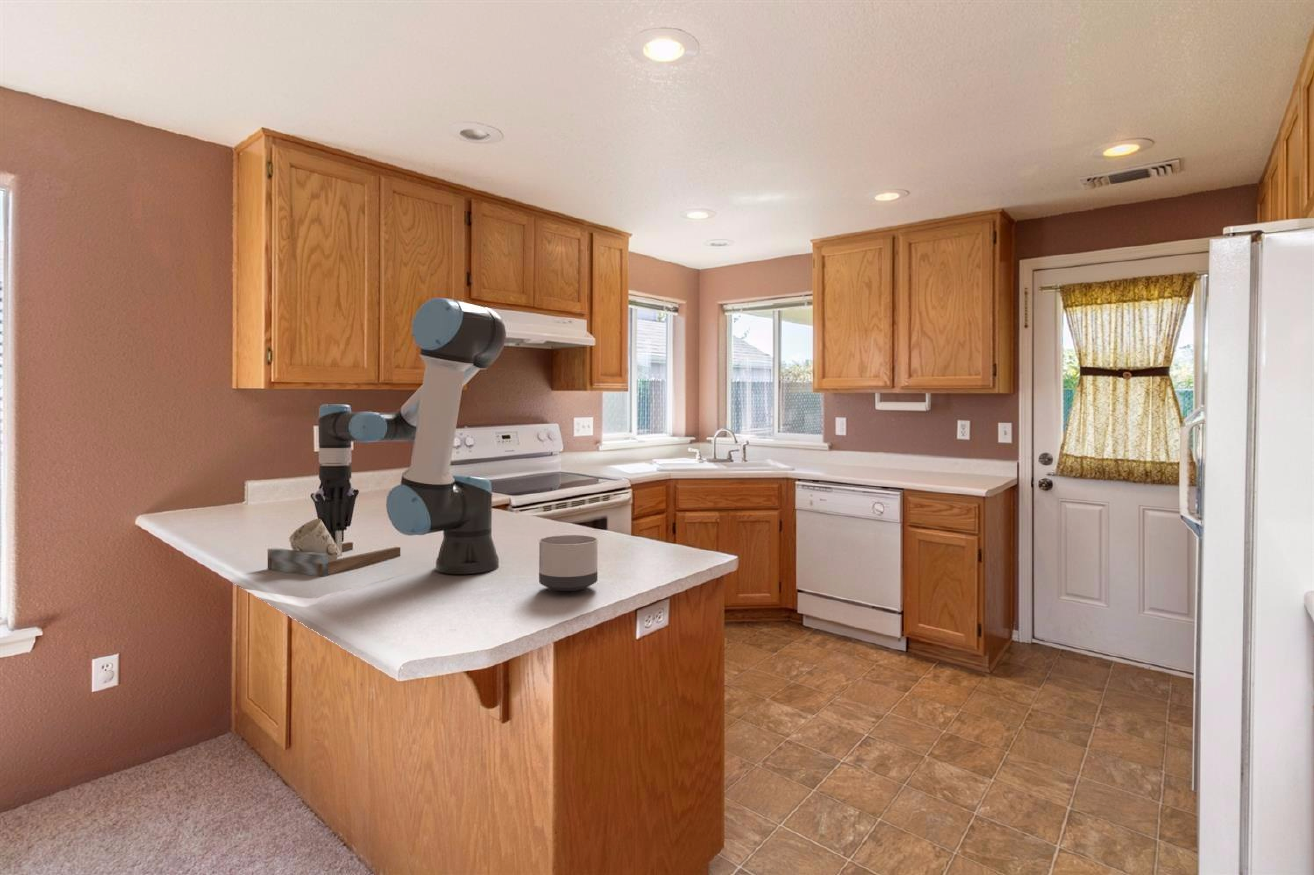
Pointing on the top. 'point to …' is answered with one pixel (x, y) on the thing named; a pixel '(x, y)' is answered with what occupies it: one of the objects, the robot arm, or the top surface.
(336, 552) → the mug
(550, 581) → the planter
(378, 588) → the top surface
